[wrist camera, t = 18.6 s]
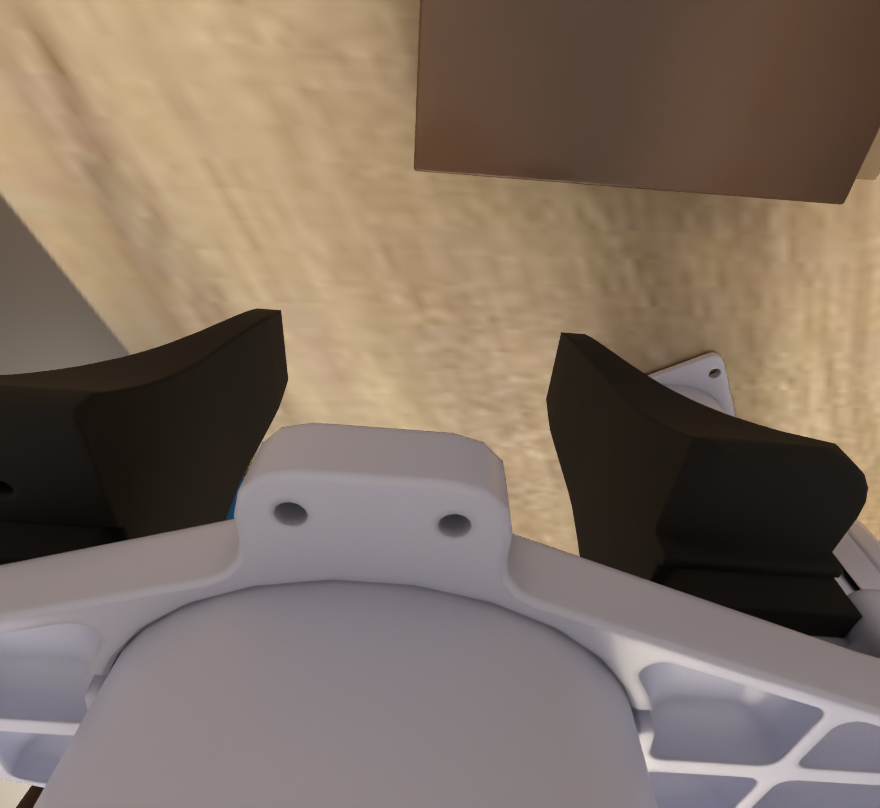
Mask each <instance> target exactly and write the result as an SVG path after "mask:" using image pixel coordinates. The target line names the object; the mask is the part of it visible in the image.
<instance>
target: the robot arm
mask: <svg viewBox="0 0 880 808" xmlns="http://www.w3.org/2000/svg"><path fill="white" fill-rule="evenodd" d="M713 369H717V370H716V372H715V373H713V374H709V373H710V371H711V370H713ZM287 382H288V373H287V364H286V354H285V344H284V335H283V325H282V315H281V310H269V309H253V310H250V311H247V312H244V313H241V314H239V315H236V316H234V317H232V318H229V319H227V320H225V321H223V322H220V323H218V324H216V325H213V326H211V327H209V328H206V329H204V330H202V331H199V332H197V333H194V334H192V335H189V336H186V337H184V338H181V339H179V340H176V341H174V342H171V343H168V344H166V345H163V346H160V347H157V348H153V349H150V350H147V351H143V352H140V353H136V354H133V355H129V356H125V357H122V358H117V359H112V360H107V361H103V362H98V363H93V364H88V365H83V366H77V367H71V368H65V369H58V370H50V371H42V372H34V373H24V374H13V375H0V779H1V780H6V781H11V782H16V783H22V784H27V785H32V786H38V787H43V788H44V789H43V791H42V793H41V795H40V796H39V798H38V800H37V802H36V803H35V805H34V807H33V808H880V542H879V541H878V540H877V538H876V537H875V536H874V535H873V534H872V533H871V532H870V531H869V530H868V529H867V528H866V527H865V526H864V525H863V524H862V523H861V522H860V521H858V520H856V519H857V517H858V515H859V514H860V512H861V510H862V508H863V506H864V504H865V502H866V497H867V491H868V486H867V482H866V478H865V475H864V474H863V472H862V471H861V470H860V469H859V468H858V467H857V466H856V464H855V463H854V462H853V461H852V460H851V459H850V458H849V457H848V456H847V455H846V454H845V453H844V452H843V451H842V450H841V449H840V448H839V447H838V446H837V445H836V444H834V443H830V442H825V441H821V440H817V439H812V438H808V437H803V436H799V435H795V434H790V433H786V432H782V431H778V430H775V429H771V428H768V427H765V426H761V425H758V424H755V423H751V422H748V421H745V420H742V419H739V418H736V415H735V411H734V406H733V402H732V397H731V392H730V388H729V383H728V379H727V374H726V370H725V365H724V361H723V359H722V357H721V356H720V355H719V354H717V353H714V352H711V353H707V354H704V355H701V356H699V357H696V358H693V359H690V360H688V361H685V362H682V363H680V364H677V365H674V366H671V367H669V368H666V369H663V370H660V371H658V372H655V373H652V374H650V375H646V374H644V373H643V372H641V371H639V370H638V369H636V368H635V367H633V366H632V365H630V364H629V363H628V362H626V361H625V360H623V359H622V358H620V357H619V356H618V355H616V354H615V353H613V352H612V351H610V350H609V349H608V348H606V347H605V346H603V345H602V344H601V343H599V342H598V341H596V340H594V339H593V338H591V337H589V336H587V335H585V334H574V333H562V332H561V336H560V340H559V345H558V349H557V354H556V358H555V363H554V367H553V372H552V376H551V381H550V385H549V390H548V394H547V398H546V401H547V410H548V418H549V425H550V431H551V434H552V438H553V441H554V445H555V448H556V452H557V455H558V459H559V462H560V465H561V469H562V472H563V475H564V479H565V482H566V485H567V489H568V492H569V496H570V500H571V504H572V509H573V515H574V521H575V527H576V533H577V539H578V547H579V554H580V557H579V556H576V555H573V554H570V553H567V552H564V551H561V550H558V549H556V548H553V547H550V546H547V545H544V544H541V543H538V542H535V541H532V540H529V539H526V538H524V537H521V536H518V535H515V534H512V526H511V518H510V509H509V501H508V493H507V485H506V478H505V472H504V466H503V461H502V460H501V459H500V458H499V457H498V456H497V455H496V454H495V453H494V452H493V451H492V450H491V449H490V448H489V447H488V446H487V445H486V444H485V443H484V442H481V441H478V440H475V439H471V438H468V437H464V436H461V435H458V434H454V433H446V432H432V431H419V430H405V429H392V428H378V427H365V426H351V425H338V424H325V423H308V424H301V425H294V426H287V427H282V428H281V429H280V430H278V431H277V432H276V433H275V434H273V435H272V436H271V437H270V438H268V439H267V440H266V441H265V442H263V443H262V445H261V447H260V449H259V451H258V452H257V454H256V456H255V458H254V460H253V462H252V464H251V466H250V468H249V470H248V472H247V474H246V476H245V478H244V480H243V482H242V484H241V486H240V488H239V490H238V494H237V500H236V505H235V511H234V518H235V519H231V520H226V519H227V516H228V513H229V510H230V508H231V505H232V503H233V500H234V497H235V495H236V492H237V489H238V487H239V484H240V482H241V480H242V478H243V476H244V473H245V471H246V469H247V467H248V466H249V464H250V462H251V460H252V458H253V456H254V454H255V452H256V451H257V449H258V447H259V445H260V443H261V441H262V439H263V438H264V436H265V434H266V432H267V430H268V428H269V426H270V424H271V422H272V421H273V419H274V417H275V415H276V413H277V411H278V409H279V406H280V403H281V400H282V397H283V394H284V391H285V388H286V385H287Z"/></svg>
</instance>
